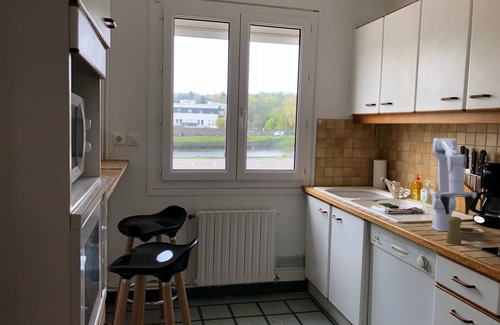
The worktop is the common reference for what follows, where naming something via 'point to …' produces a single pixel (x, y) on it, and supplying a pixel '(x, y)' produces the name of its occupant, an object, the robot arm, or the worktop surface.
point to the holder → (471, 234)
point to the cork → (454, 231)
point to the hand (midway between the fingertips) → (456, 214)
